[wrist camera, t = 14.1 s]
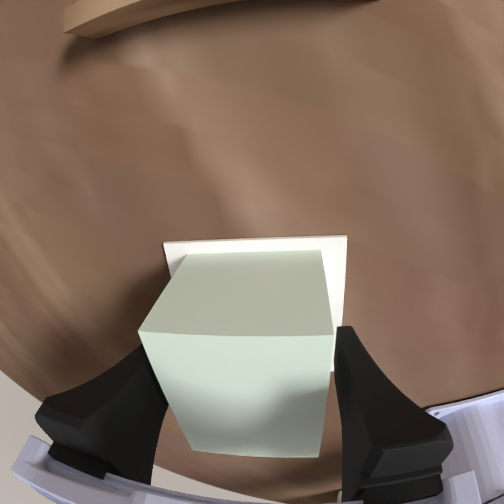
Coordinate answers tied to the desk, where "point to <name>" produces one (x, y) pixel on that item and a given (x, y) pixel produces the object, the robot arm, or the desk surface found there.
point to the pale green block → (245, 351)
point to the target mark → (329, 245)
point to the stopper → (123, 14)
